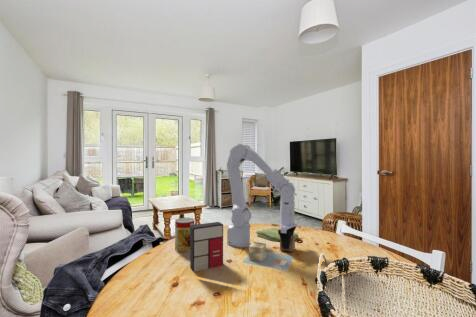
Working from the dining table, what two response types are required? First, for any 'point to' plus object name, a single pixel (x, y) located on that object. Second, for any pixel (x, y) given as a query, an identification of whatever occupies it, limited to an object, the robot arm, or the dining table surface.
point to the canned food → (183, 234)
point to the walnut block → (291, 245)
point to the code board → (273, 261)
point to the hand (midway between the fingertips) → (287, 246)
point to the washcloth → (272, 234)
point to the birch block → (257, 251)
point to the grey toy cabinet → (206, 246)
